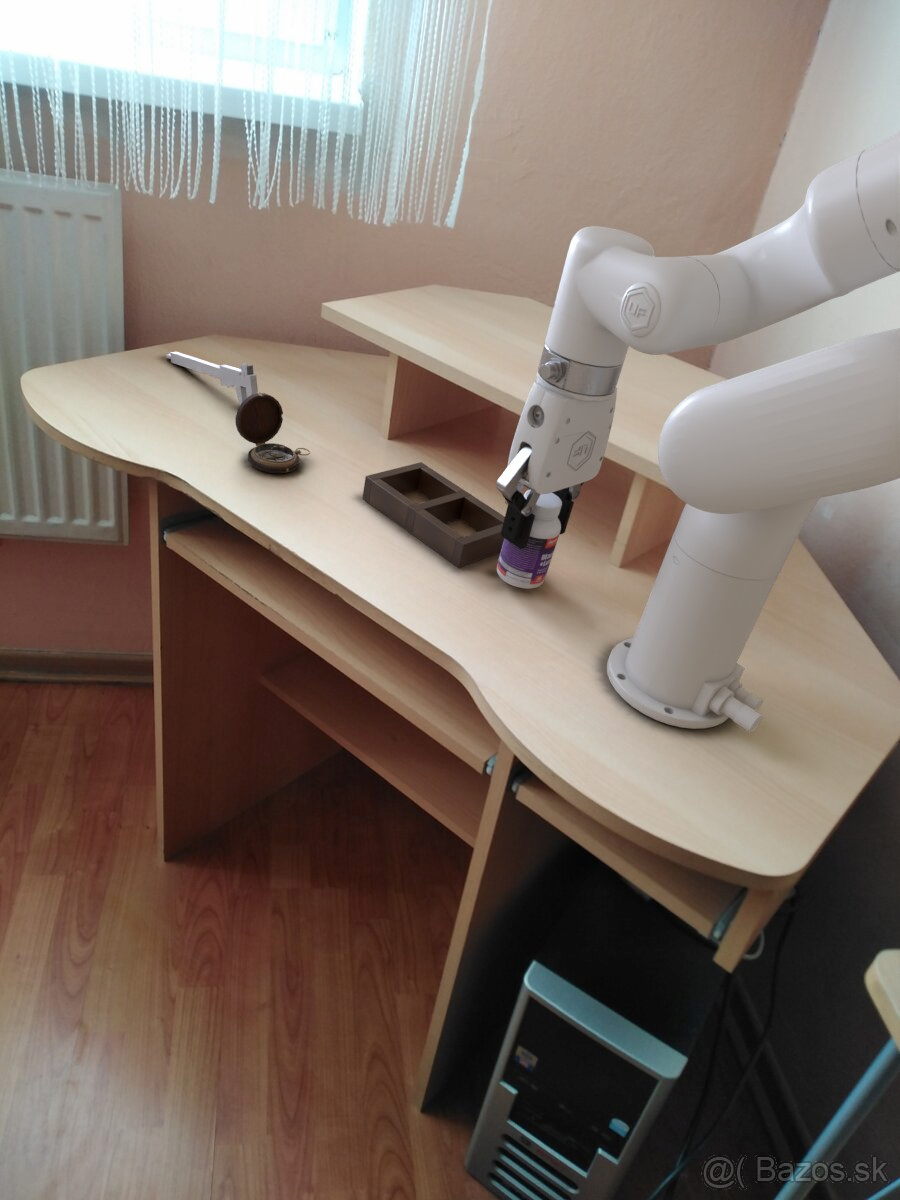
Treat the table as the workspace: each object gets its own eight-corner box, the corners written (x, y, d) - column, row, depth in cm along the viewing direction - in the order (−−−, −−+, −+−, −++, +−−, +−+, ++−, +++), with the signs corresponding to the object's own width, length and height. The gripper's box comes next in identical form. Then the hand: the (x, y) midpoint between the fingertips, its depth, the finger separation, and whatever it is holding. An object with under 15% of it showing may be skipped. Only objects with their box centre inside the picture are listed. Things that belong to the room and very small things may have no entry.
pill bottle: (540, 595, 94) (566, 517, 88) (491, 581, 94) (514, 502, 89) (546, 569, 98) (571, 493, 93) (500, 556, 99) (521, 479, 93)
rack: (512, 547, 102) (518, 525, 100) (458, 568, 96) (463, 544, 95) (417, 483, 111) (421, 461, 109) (362, 498, 105) (365, 475, 103)
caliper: (256, 413, 118) (260, 368, 115) (250, 415, 118) (252, 369, 114) (171, 357, 129) (172, 314, 125) (165, 358, 128) (165, 315, 124)
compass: (264, 479, 104) (269, 421, 100) (231, 449, 109) (234, 393, 105) (322, 468, 109) (328, 413, 105) (288, 440, 114) (293, 386, 110)
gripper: (550, 399, 76) (503, 574, 86) (662, 375, 87) (608, 533, 97) (488, 365, 80) (450, 537, 90) (603, 346, 91) (557, 501, 101)
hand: (533, 533), depth 93 cm, fingers closed on pill bottle, 5 cm apart
